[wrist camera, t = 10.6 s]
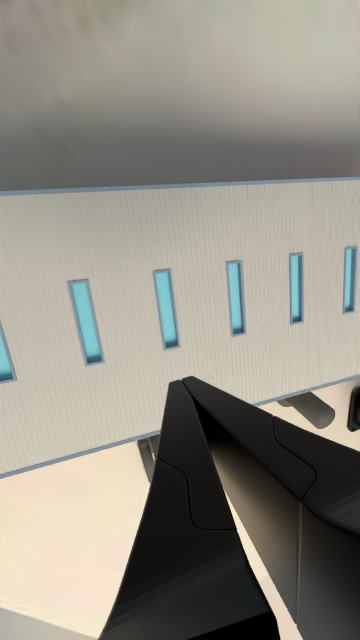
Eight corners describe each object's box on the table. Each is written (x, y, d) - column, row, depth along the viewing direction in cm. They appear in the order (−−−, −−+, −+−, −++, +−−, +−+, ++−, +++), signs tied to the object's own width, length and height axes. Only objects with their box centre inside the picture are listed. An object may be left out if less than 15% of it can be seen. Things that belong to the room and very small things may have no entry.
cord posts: (335, 407, 31) (374, 436, 26) (148, 479, 26) (157, 530, 21) (340, 356, 28) (385, 379, 24) (132, 425, 23) (139, 471, 19)
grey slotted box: (347, 188, 22) (456, 166, 15) (327, 332, 27) (402, 365, 20) (-34, 209, 15) (-149, 186, 8) (33, 397, 20) (-6, 480, 13)
